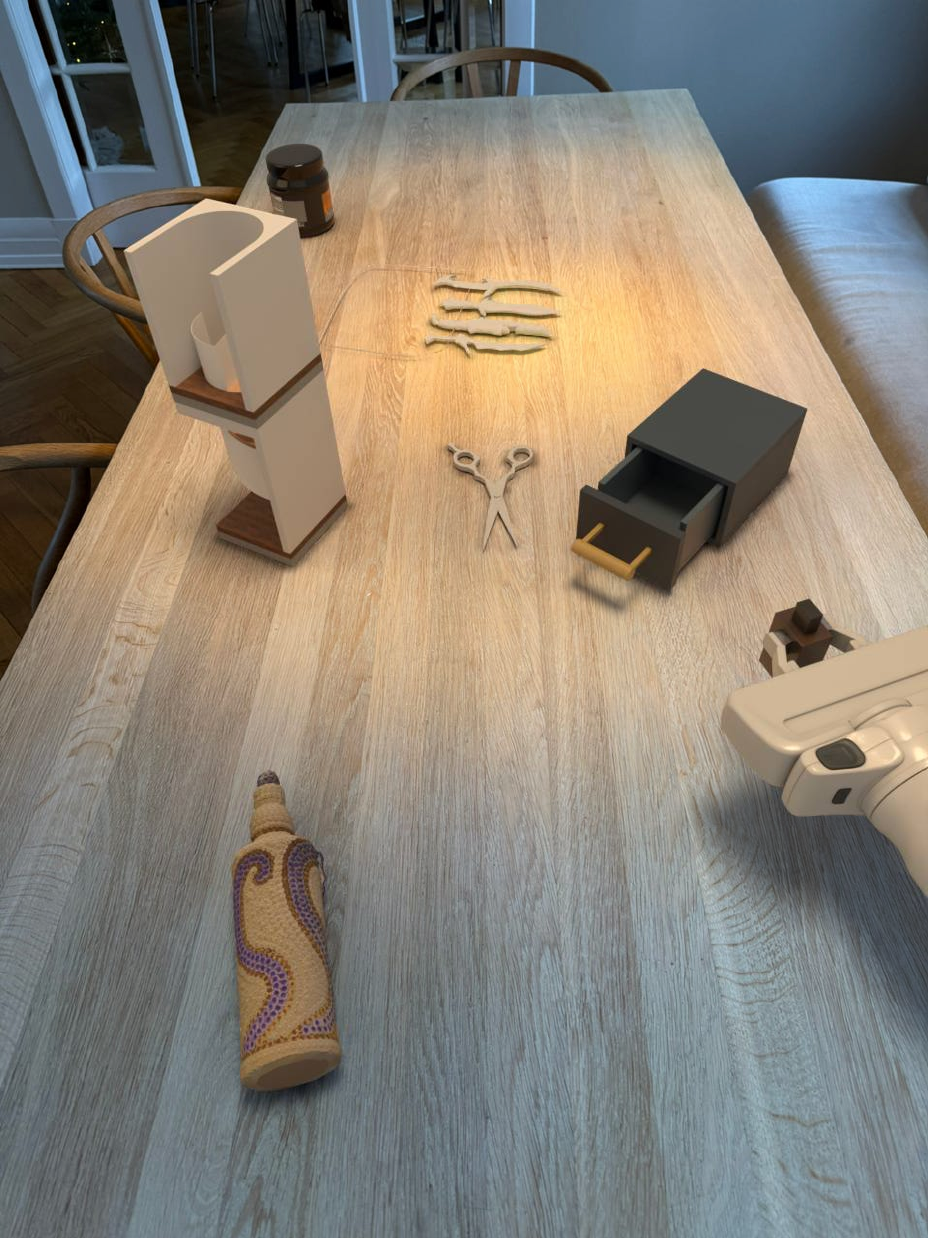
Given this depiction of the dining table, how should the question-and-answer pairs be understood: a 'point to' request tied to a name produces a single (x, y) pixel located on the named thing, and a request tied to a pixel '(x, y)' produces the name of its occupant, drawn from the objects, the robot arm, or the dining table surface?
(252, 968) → the decorative bottle
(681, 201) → the dining table surface
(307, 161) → the supplement container
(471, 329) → the driftwood wall hanging
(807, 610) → the small brown bottle
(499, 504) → the scissors
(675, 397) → the cabinet
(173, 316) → the slotted cup holder tower
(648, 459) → the drawer
